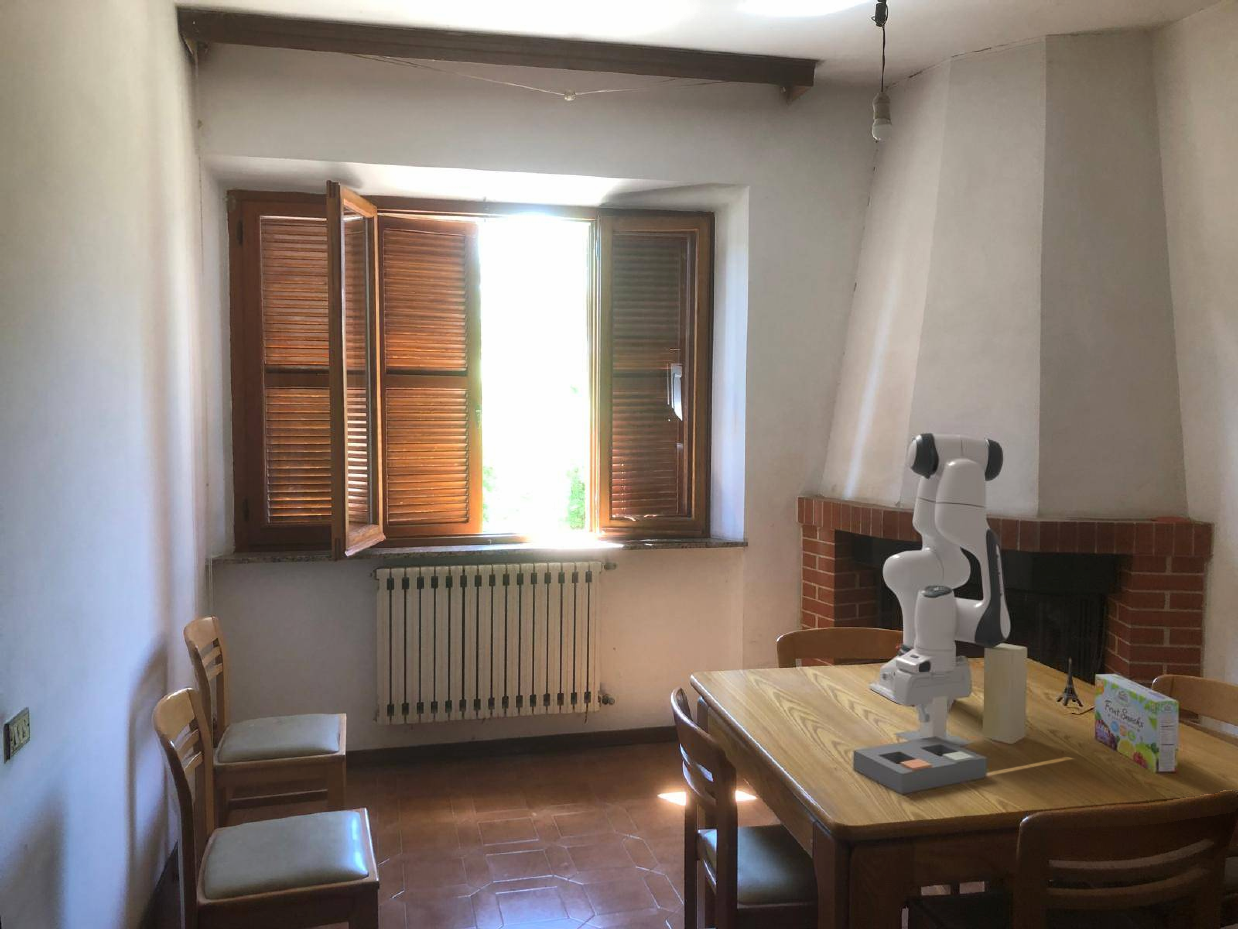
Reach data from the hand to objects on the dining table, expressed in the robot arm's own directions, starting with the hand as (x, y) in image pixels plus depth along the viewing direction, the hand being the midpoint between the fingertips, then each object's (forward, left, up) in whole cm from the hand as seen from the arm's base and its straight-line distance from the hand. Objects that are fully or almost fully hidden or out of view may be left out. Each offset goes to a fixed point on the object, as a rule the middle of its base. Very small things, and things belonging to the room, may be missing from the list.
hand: (933, 720), depth 205 cm
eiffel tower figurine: (-7, +53, -6) cm, 54 cm away
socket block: (+14, -17, -5) cm, 23 cm away
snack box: (+24, +34, -5) cm, 42 cm away
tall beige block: (+5, +16, -5) cm, 17 cm away
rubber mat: (0, 0, -5) cm, 5 cm away
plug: (0, 0, -4) cm, 4 cm away
